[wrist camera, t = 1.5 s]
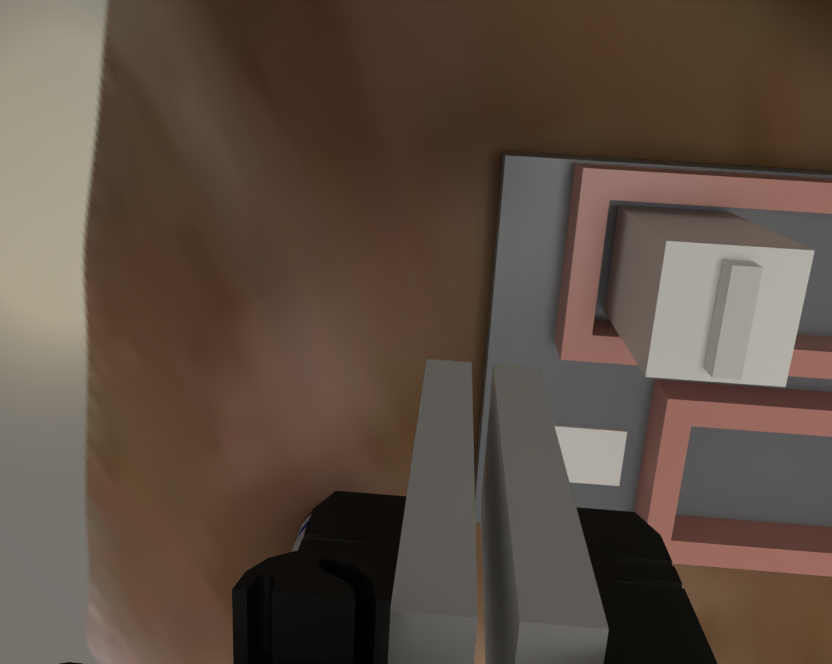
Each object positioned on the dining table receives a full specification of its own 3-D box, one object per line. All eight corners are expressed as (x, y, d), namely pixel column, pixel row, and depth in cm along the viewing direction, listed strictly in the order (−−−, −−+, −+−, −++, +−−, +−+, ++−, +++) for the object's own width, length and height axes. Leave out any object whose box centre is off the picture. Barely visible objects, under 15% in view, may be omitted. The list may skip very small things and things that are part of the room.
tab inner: (618, 205, 28) (673, 246, 20) (730, 212, 28) (827, 256, 20) (604, 311, 29) (651, 386, 22) (711, 318, 29) (796, 397, 21)
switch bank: (503, 151, 30) (508, 160, 26) (1151, 190, 29) (1256, 205, 25) (472, 497, 34) (473, 549, 30) (1031, 542, 33) (1105, 601, 29)
